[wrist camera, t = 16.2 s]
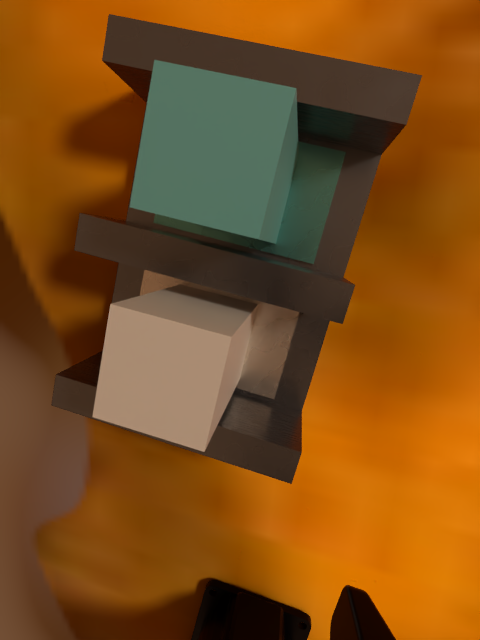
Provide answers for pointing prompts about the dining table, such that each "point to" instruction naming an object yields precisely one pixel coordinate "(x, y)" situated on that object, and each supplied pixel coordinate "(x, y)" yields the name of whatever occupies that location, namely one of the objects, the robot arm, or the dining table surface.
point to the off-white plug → (173, 362)
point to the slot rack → (249, 253)
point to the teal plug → (217, 150)
